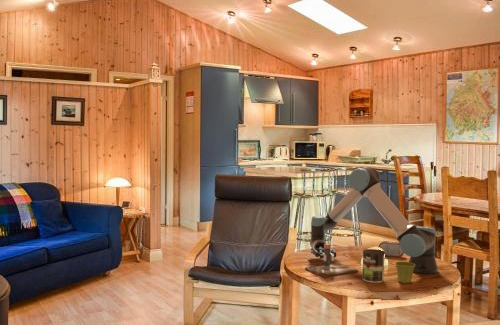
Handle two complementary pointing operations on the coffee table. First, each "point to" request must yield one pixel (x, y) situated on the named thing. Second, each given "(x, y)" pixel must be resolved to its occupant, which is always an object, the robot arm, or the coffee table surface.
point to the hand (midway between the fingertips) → (329, 258)
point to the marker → (327, 256)
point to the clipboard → (331, 270)
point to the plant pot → (404, 271)
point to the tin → (391, 248)
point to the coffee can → (373, 265)
